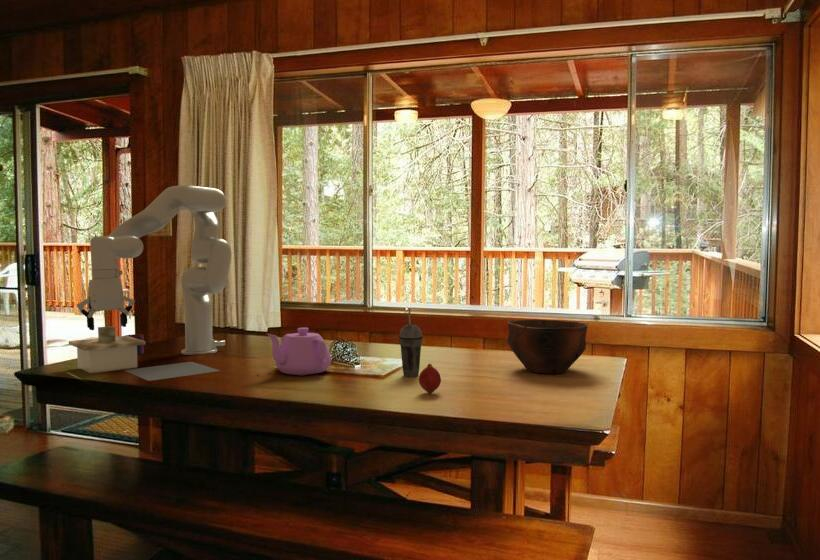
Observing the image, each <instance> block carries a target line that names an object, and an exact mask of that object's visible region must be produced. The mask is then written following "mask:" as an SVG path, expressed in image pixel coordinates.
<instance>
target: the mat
mask: <svg viewBox="0 0 820 560" xmlns="http://www.w3.org/2000/svg"><path fill="white" fill-rule="evenodd" d="M122 370H123V371H124V372H126V373H129V374H131V375H133V376H135V377H138V378H140V379H143V380H145V381H147V382H153V381H158V380H166V379H173V378H180V377H187V376H194V375H202V374H208V373H215V372H221V370H219V369H217V368H213V367H209V366H207V365H204V364H200V363H197V362H194V361H187V362H179V363H170V364H162V365H161V364H160V365H154V366H146V367H140V368H138V367H137V368H129V369H122Z"/></svg>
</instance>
